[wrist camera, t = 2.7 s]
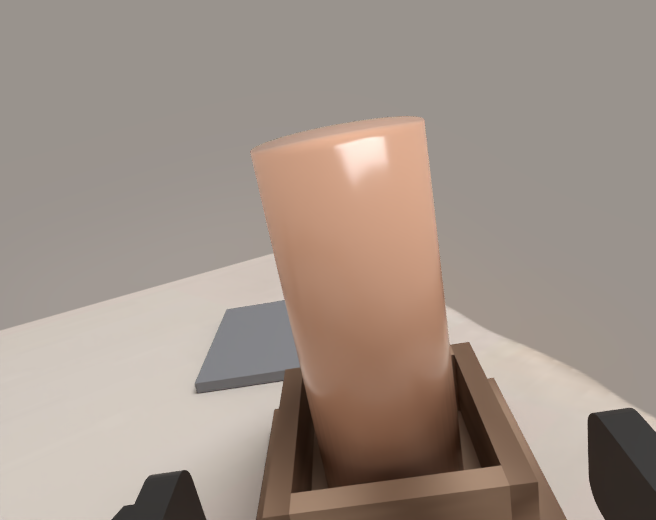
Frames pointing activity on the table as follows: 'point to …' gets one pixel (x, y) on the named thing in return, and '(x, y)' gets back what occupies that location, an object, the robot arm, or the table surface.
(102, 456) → the table surface
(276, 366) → the mat
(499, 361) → the table surface
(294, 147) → the peach cup
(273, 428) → the jug stand
